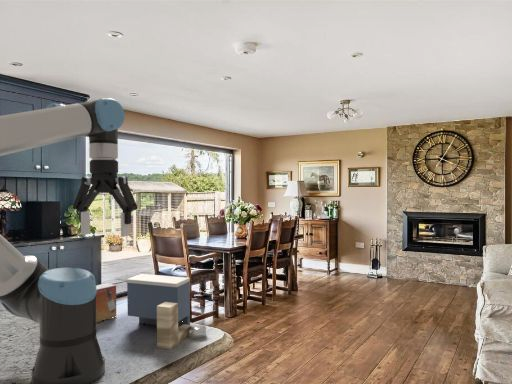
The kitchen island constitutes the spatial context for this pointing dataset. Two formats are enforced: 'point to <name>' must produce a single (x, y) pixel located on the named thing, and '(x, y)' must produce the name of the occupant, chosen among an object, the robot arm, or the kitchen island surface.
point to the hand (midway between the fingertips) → (105, 235)
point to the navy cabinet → (157, 296)
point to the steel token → (197, 331)
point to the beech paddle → (169, 326)
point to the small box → (105, 301)
